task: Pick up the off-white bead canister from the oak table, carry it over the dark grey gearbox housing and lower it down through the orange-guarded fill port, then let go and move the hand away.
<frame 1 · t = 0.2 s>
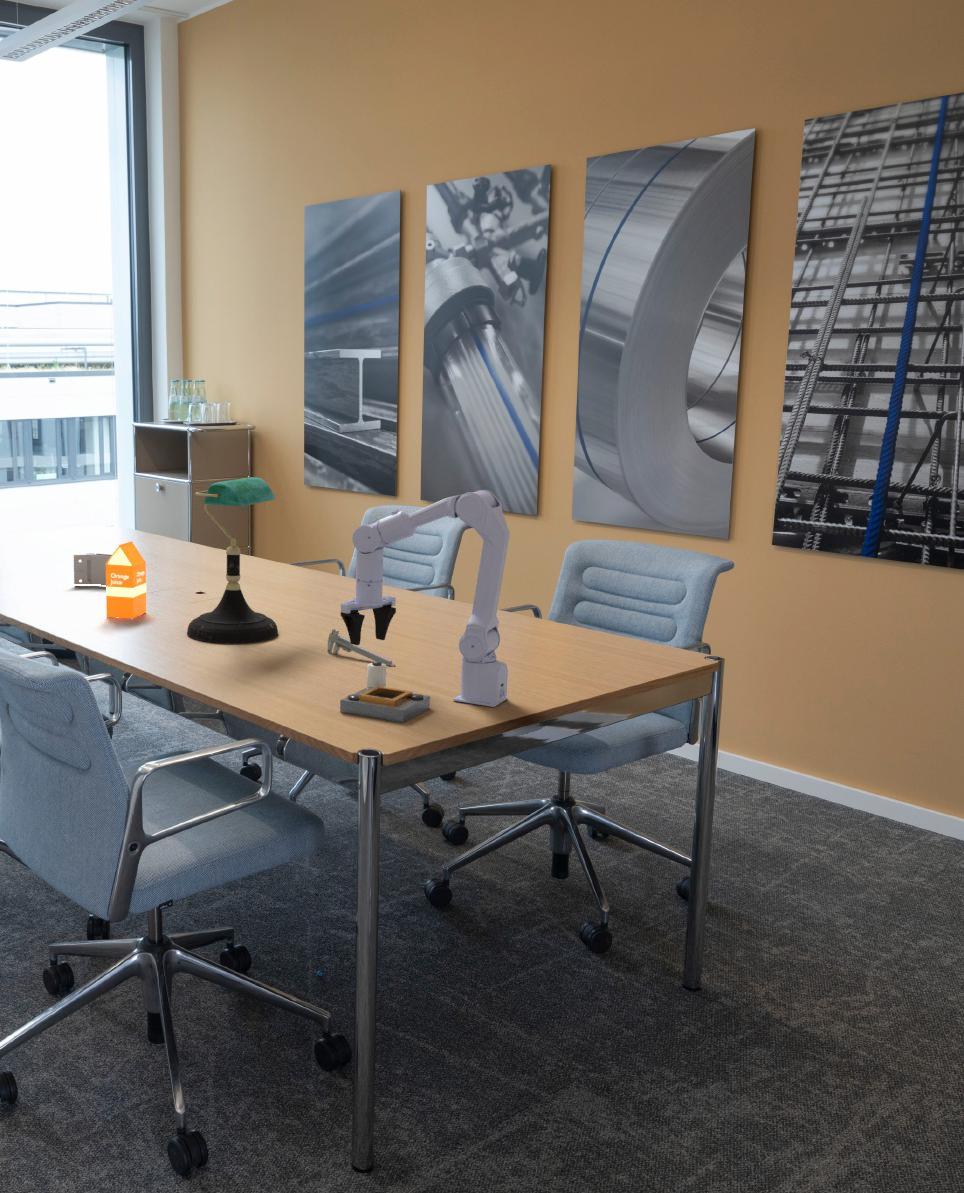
hand: (367, 641, 237), 10 cm above the table, fingers open, 7 cm apart
orange juice: (126, 616, 299), on the table
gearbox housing: (385, 709, 221), on the table
caliper: (360, 661, 262), on the table
hinge: (97, 587, 339), on the table
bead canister: (376, 692, 234), on the table
banker's lamp: (232, 634, 283), on the table
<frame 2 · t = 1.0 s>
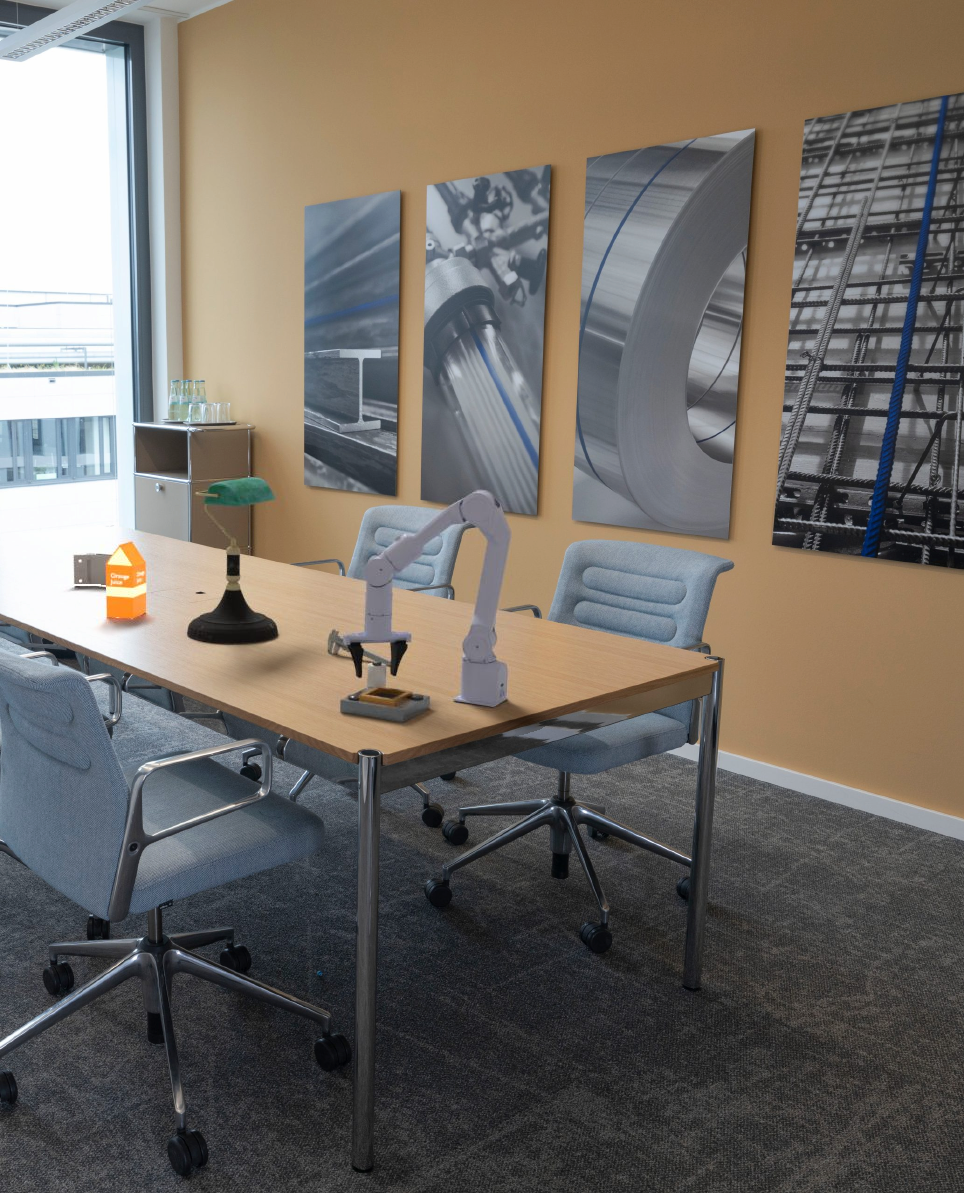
hand: (376, 675, 233), 4 cm above the table, fingers open, 7 cm apart
nothing on the table moved.
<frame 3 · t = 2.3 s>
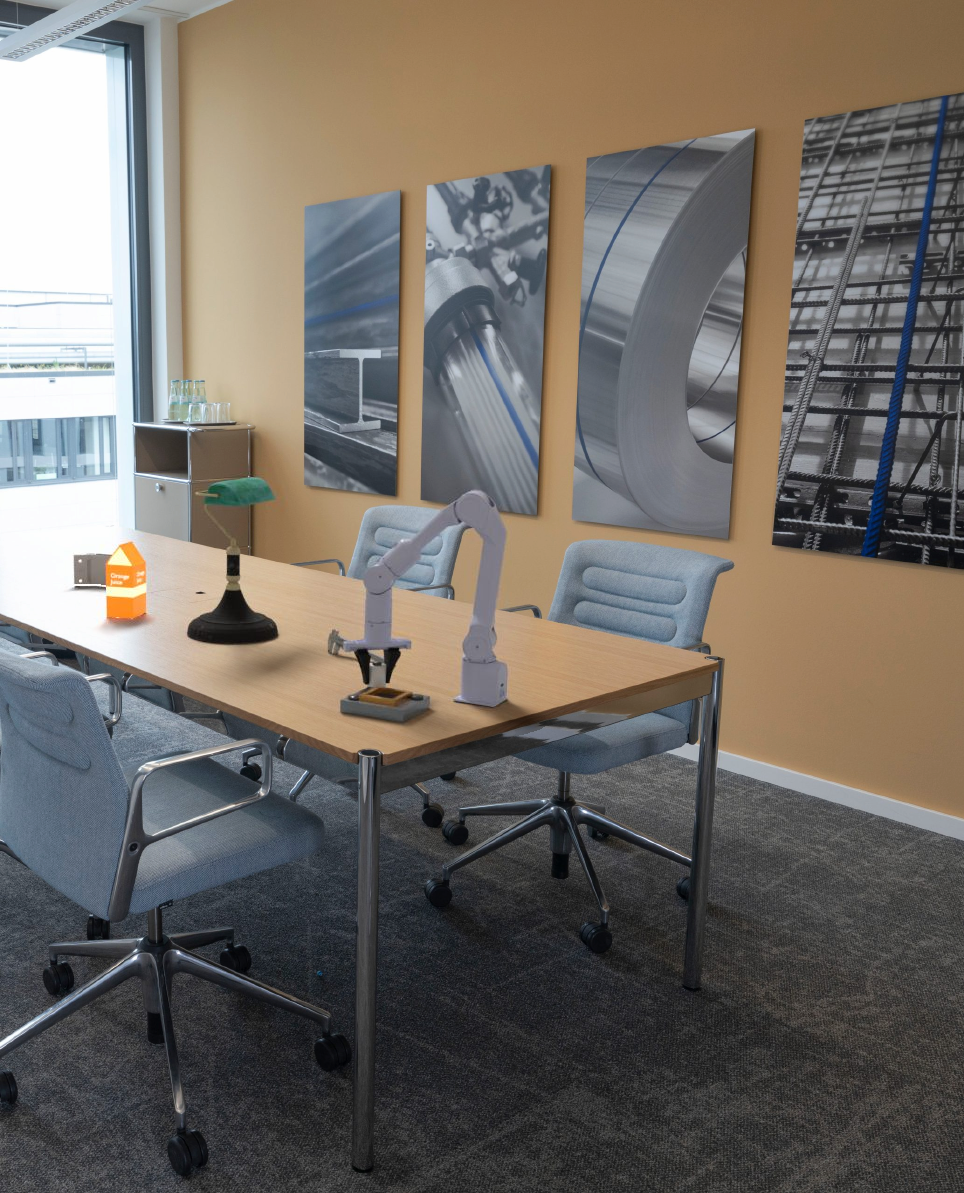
hand: (376, 682, 233), 2 cm above the table, fingers closed on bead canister, 4 cm apart
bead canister: (376, 692, 234), on the table, touching gripper
everything else where it was.
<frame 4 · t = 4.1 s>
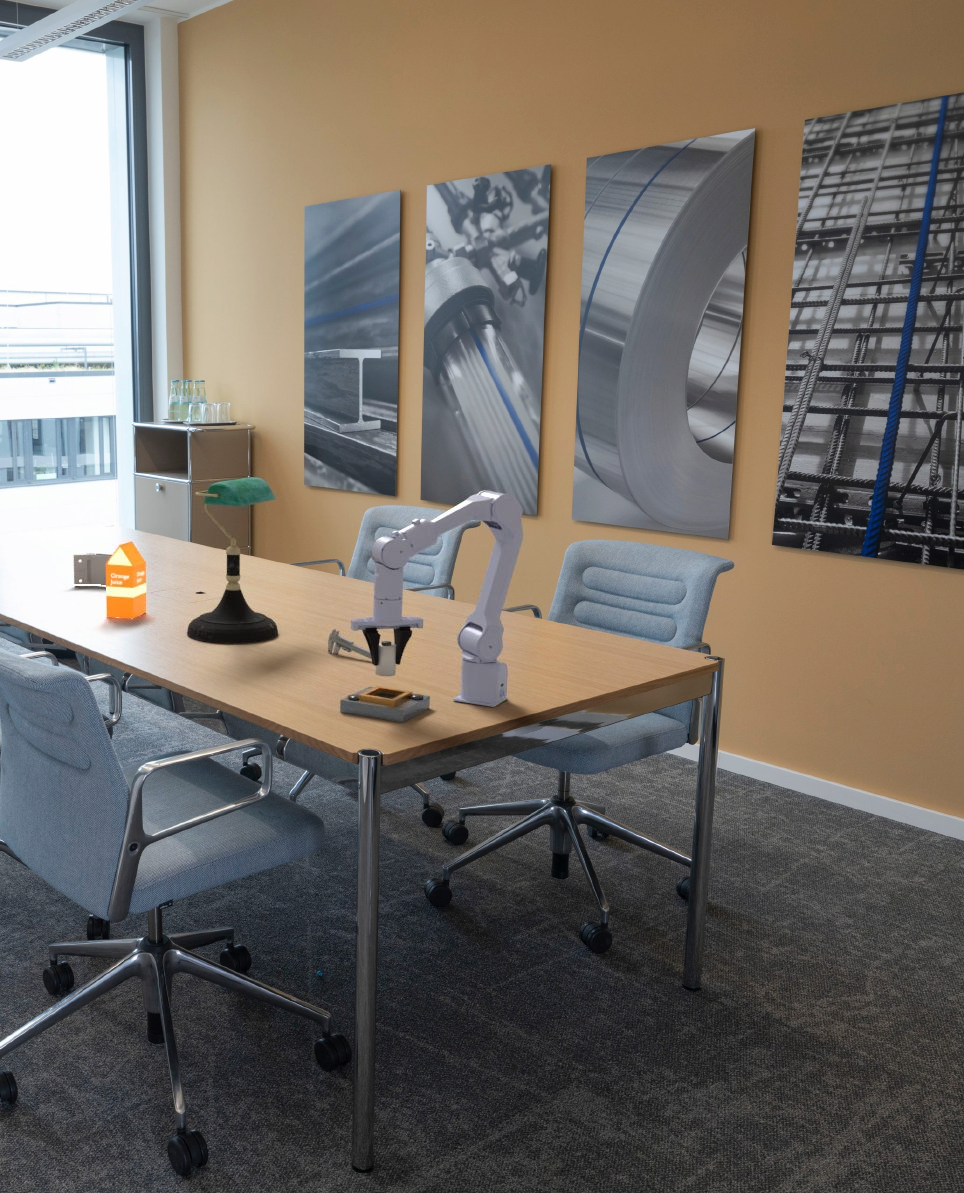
hand: (386, 663, 220), 9 cm above the table, fingers closed on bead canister, 4 cm apart
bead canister: (385, 673, 220), point 7 cm above the table, touching gripper
everything else where it was.
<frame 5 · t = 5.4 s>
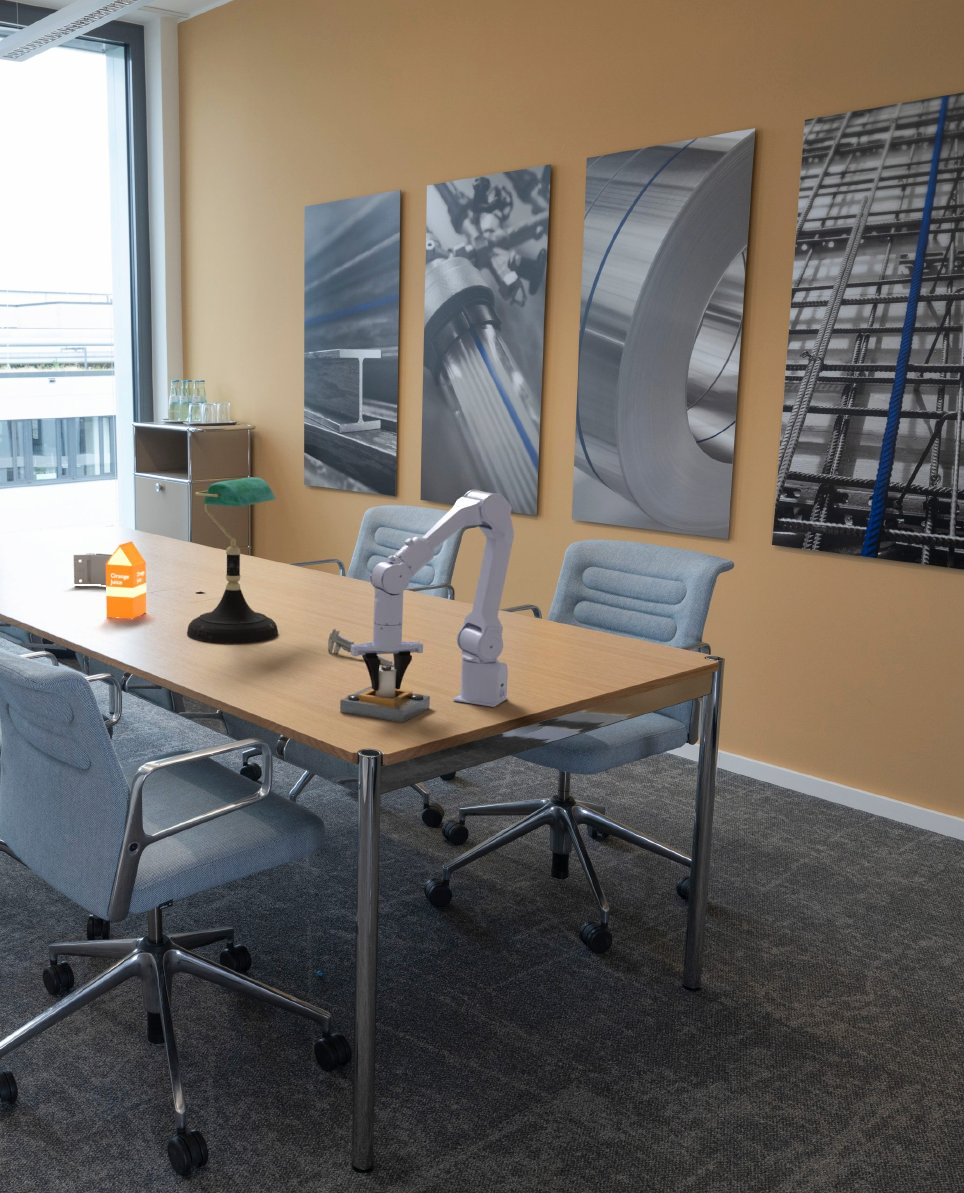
hand: (386, 688, 220), 4 cm above the table, fingers closed on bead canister, 4 cm apart
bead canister: (385, 698, 220), point 2 cm above the table, touching gripper
everything else where it was.
when the fingers open (4 cm above the table, at t = 6.2 s): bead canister drops 2 cm, resting in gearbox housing.
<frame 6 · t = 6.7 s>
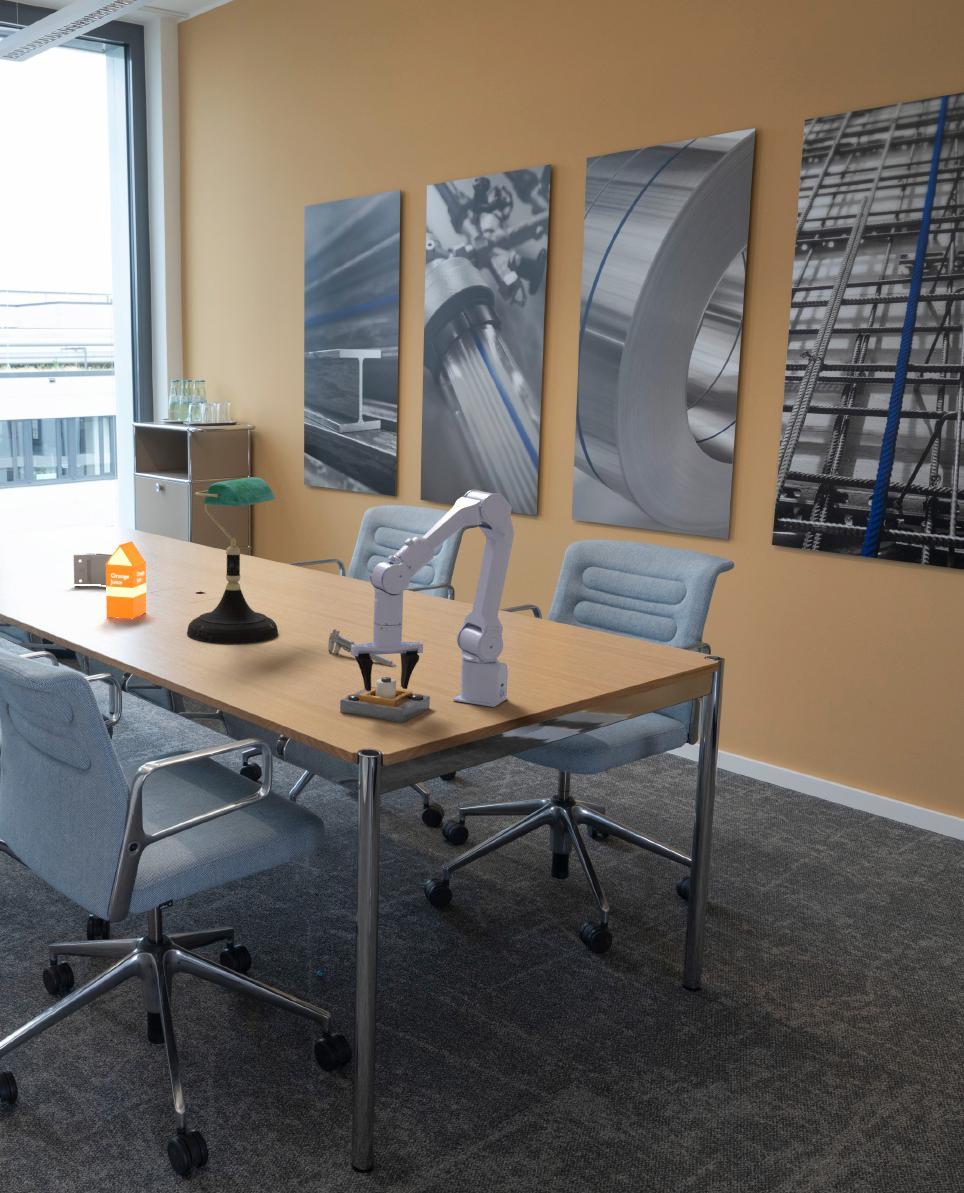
hand: (386, 688, 220), 4 cm above the table, fingers open, 7 cm apart
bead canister: (385, 709, 221), resting in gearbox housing
everything else where it was.
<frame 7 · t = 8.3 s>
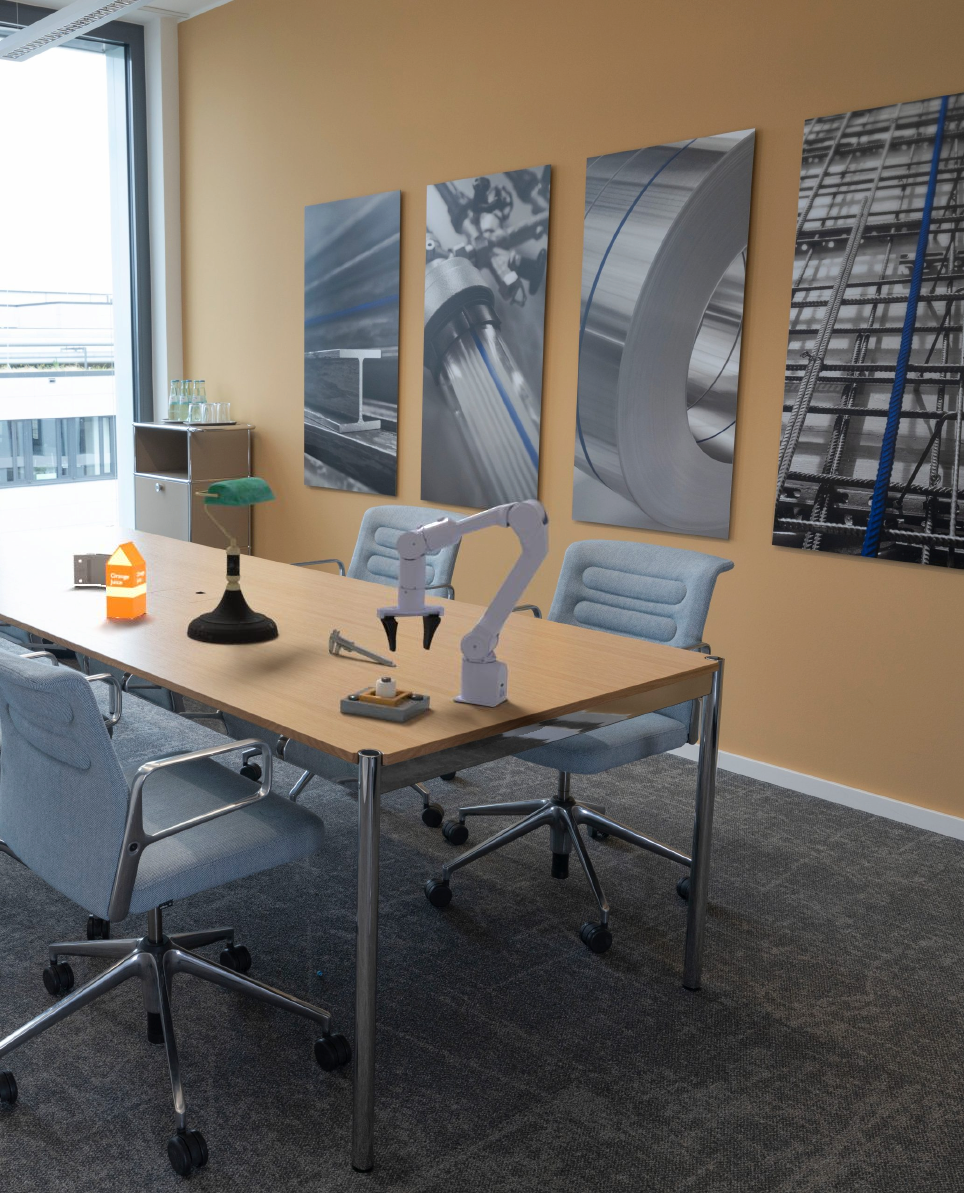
hand: (409, 649, 233), 9 cm above the table, fingers open, 7 cm apart
nothing on the table moved.
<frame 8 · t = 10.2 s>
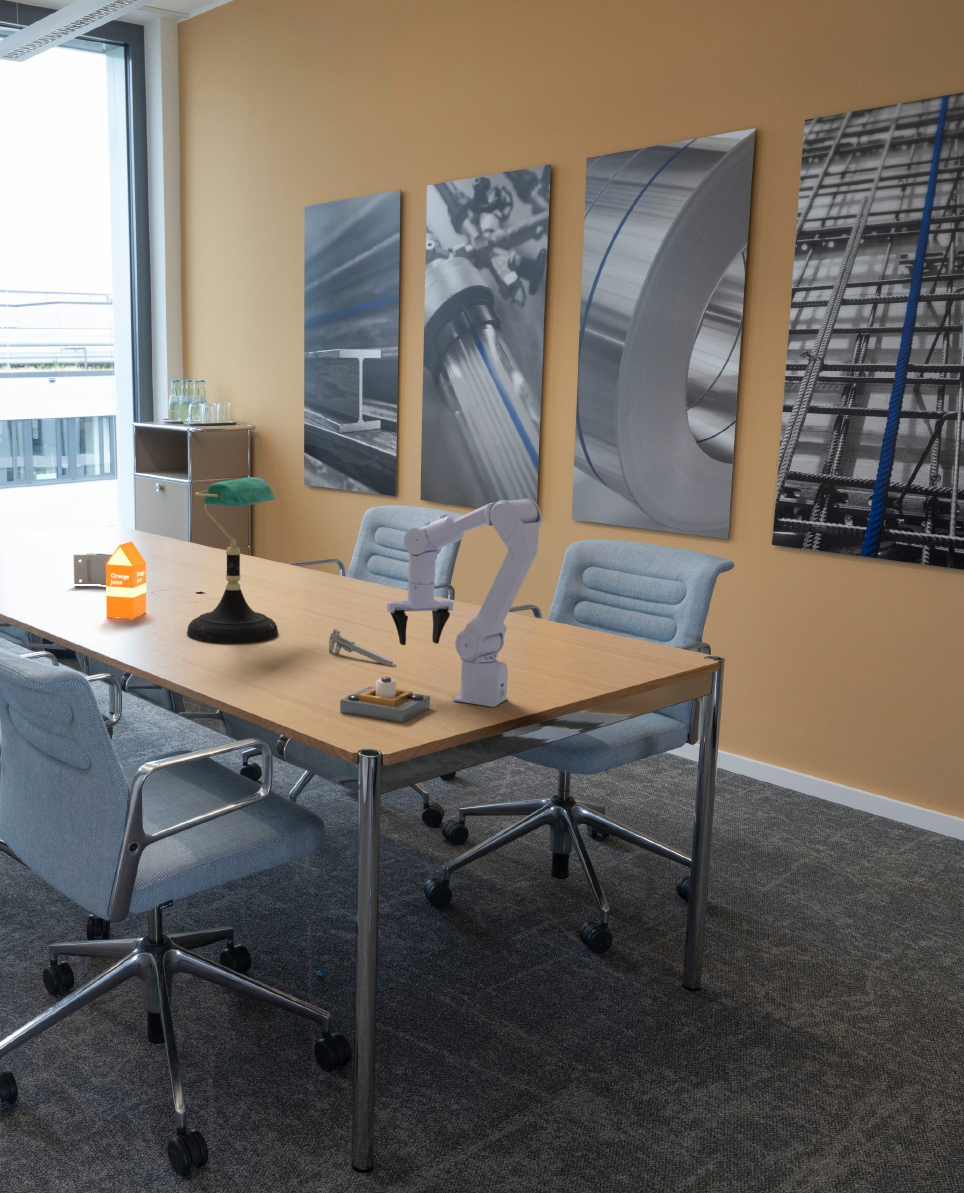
hand: (419, 643, 239), 9 cm above the table, fingers open, 7 cm apart
nothing on the table moved.
at the end: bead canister 0.1 cm off-centre on the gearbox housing, point 0.0 cm above the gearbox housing's base; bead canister tilted 0°; the gripper is holding nothing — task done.
